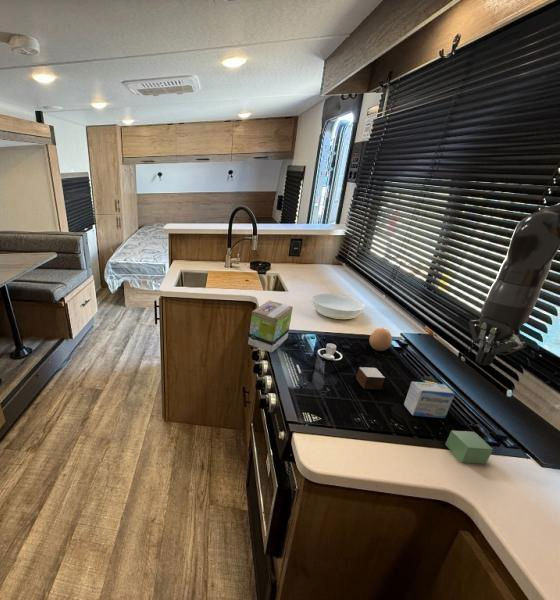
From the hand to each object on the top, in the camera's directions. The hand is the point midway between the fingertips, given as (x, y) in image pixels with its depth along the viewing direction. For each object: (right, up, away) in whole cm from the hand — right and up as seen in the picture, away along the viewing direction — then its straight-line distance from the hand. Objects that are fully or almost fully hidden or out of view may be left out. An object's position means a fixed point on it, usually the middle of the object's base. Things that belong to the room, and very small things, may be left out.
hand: (481, 363), depth 77 cm
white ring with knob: (-22, -4, +35) cm, 42 cm away
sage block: (-10, -20, -6) cm, 23 cm away
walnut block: (-16, -11, +18) cm, 27 cm away
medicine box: (-9, -15, +7) cm, 19 cm away
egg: (0, -3, +37) cm, 37 cm away
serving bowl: (+1, +9, +66) cm, 67 cm away
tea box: (-38, -1, +44) cm, 58 cm away
